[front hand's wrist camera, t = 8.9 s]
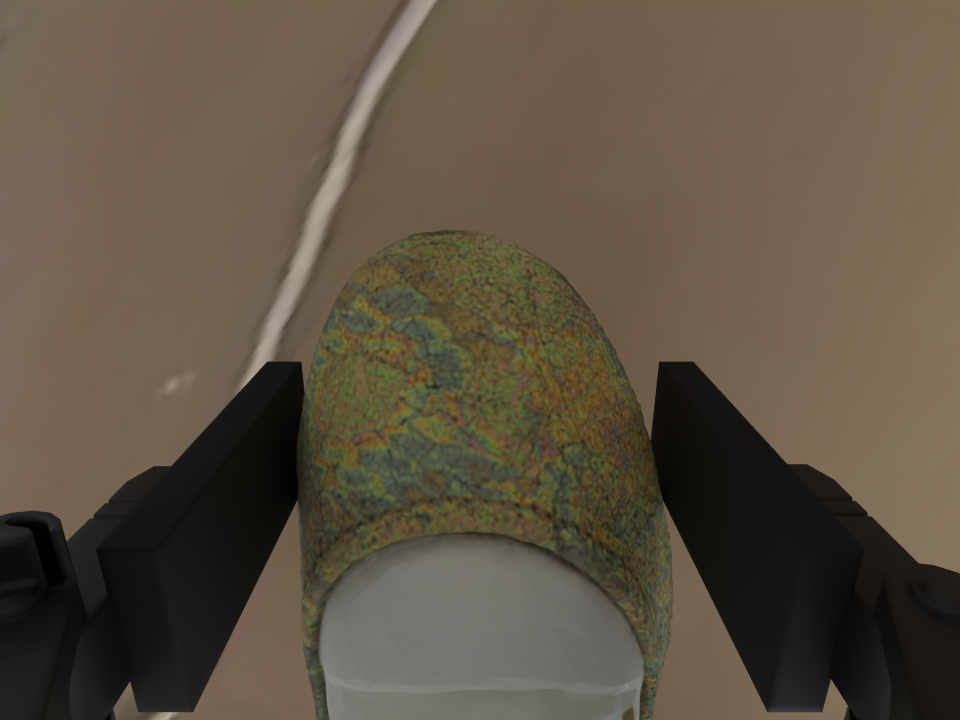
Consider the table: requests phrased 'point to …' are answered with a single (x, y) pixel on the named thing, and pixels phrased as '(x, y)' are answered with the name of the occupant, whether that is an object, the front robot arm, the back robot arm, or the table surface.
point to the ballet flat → (476, 498)
